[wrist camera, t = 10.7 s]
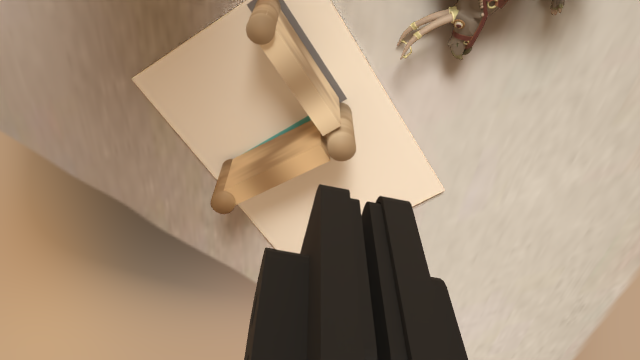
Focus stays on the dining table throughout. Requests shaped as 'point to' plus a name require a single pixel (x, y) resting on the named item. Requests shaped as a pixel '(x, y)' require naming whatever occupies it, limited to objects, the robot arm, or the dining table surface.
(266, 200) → the card
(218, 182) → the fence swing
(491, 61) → the dining table surface
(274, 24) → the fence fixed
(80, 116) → the dining table surface
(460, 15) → the figurine
